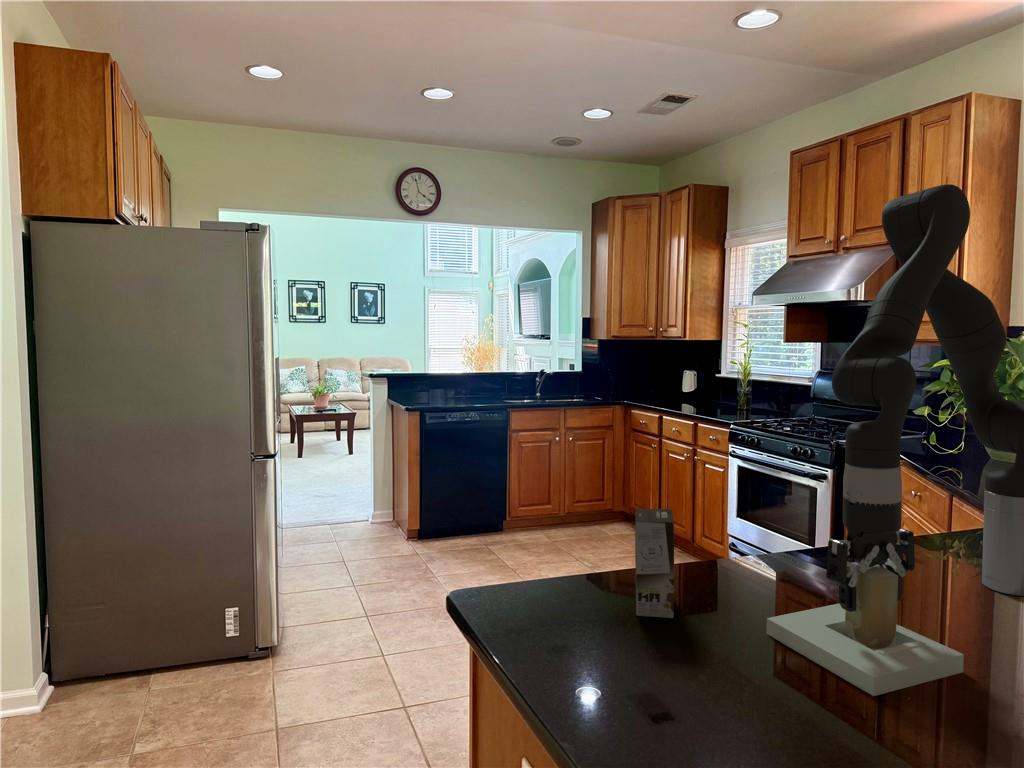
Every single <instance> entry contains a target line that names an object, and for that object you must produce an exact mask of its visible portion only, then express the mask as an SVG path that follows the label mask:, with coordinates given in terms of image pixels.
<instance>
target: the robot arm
mask: <svg viewBox="0 0 1024 768" xmlns="http://www.w3.org/2000/svg"><path fill="white" fill-rule="evenodd" d="M970 221H971V207H970V202H969V201H968V198H967V195H966V194H965V192H964V191H963V190H962V189H961V188H960V187H959V186H957V185H956V184H949V183H948V184H946V183H945V184H940V185H936V186H932V187H928V188H926V189H922V190H920V191H919V190H918V191H915V192H912V193H907V194H905V195H901V196H898V197H895V198H893V199H890V200H889V201H888V202H886V203H885V205H884V206H883V208H882V212H881V225H882V230H883V232H884V235H885V239H886V241H887V242H888V245H889V247H890V248H891V250H892V252H893V254H894V255H895V258H896V259H897V261H898V263H900V266H901V267H900V268H899V269H898V270H897V271H896V272H895V273H894V274H893V275H892V276H891V277H890V278H889V279H888V280H886V282H885V283H884V285H883V286H882V287H881V288H880V289H879V291H878V292H877V294H876V296H875V297H874V299H873V301H872V304H871V306H870V309H869V312H868V315H867V317H866V319H865V323H864V325H863V328H862V329H861V331H860V332H859V334H858V335H857V336H856V337H855V339H854V340H853V342H852V343H850V345H849V347H848V348H847V349H846V350H845V351H844V353H843V354H842V355H841V356H840V358H839V359H838V361H837V363H836V365H835V367H834V369H833V371H832V376H831V388H832V392H833V394H834V396H835V397H836V399H837V400H839V402H841V403H843V404H846V405H850V406H851V405H852V406H865V407H867V406H869V407H880V408H881V409H880V413H879V414H878V416H877V417H876V419H874V420H866V421H859V422H853V423H851V424H850V425H848V426H847V427H846V430H845V439H844V441H845V442H844V443H845V445H844V446H845V447H844V448H845V449H844V451H845V452H844V453H845V455H844V456H845V457H844V458H845V459H844V460H845V461H844V471H843V479H842V481H843V482H842V484H843V485H842V486H843V488H842V490H843V491H842V522H843V525H844V526H845V529H846V531H847V533H846V537H845V539H841V540H840V539H835V538H830V539H829V540H828V542H827V555H826V558H827V559H826V574H825V577H826V580H829V581H831V582H834V583H837V584H838V604H840V605H841V607H842V608H843V609H845V610H847V611H849V612H853V611H856V590H857V587H855V585H856V583H857V581H858V579H859V577H860V575H863V574H865V573H866V571H867V569H868V568H869V567H873V566H875V565H880V566H882V567H884V568H886V569H888V570H889V571H891V572H892V573H894V574H896V575H898V595H897V603H898V602H901V600H902V596H903V585H904V584H903V582H904V581H903V580H904V579H903V578H904V577H905V576H906V572H908V571H910V572H912V571H914V570H915V568H916V563H915V562H916V559H915V533H914V532H913V531H912V530H908V529H905V528H902V521H903V519H902V511H903V510H902V508H903V507H902V506H903V505H902V503H903V480H902V479H903V478H902V474H901V472H902V471H901V442H902V441H901V439H902V434H903V429H904V424H905V421H906V417H907V415H908V410H909V408H910V405H911V403H912V401H913V397H914V394H915V390H916V388H917V374H916V371H915V368H914V367H913V365H912V363H910V361H909V360H907V359H906V358H903V357H900V356H903V355H906V354H908V353H909V352H910V351H912V349H913V348H914V345H915V343H916V341H917V338H918V334H919V331H920V328H921V324H922V322H923V318H924V315H925V312H926V314H927V316H928V318H929V319H928V320H929V321H930V323H931V326H932V329H933V332H934V333H935V336H936V338H937V340H938V342H939V345H940V347H941V349H942V351H943V353H944V354H945V356H946V358H947V360H948V363H949V365H950V368H951V369H952V372H953V374H954V377H955V379H956V381H957V384H958V387H959V389H960V391H961V394H962V397H963V401H964V404H965V407H966V411H967V414H968V416H969V420H970V423H971V426H972V429H973V431H974V433H975V434H974V435H975V436H976V438H977V440H978V441H979V443H980V444H981V445H982V446H984V447H985V448H987V449H990V450H992V451H996V452H1002V453H1003V452H1004V453H1010V454H1015V459H1014V460H1015V461H1014V462H1013V463H1014V464H1013V466H1011V467H1010V468H1006V469H1001V470H993V471H991V472H988V473H987V474H986V475H985V476H984V491H983V494H984V497H983V532H982V536H983V537H982V564H981V566H982V567H981V569H982V570H981V572H982V574H981V576H982V577H981V583H982V584H983V586H985V587H987V588H988V589H991V590H992V591H996V592H999V593H1003V594H1007V595H1013V596H1020V597H1024V401H1023V400H1013V399H1007V398H1005V397H1004V396H1003V395H1002V393H1001V392H1000V390H999V387H998V385H997V381H996V373H997V372H996V371H997V369H998V367H999V364H1000V362H1001V359H1002V357H1003V354H1004V353H1005V349H1006V345H1007V334H1006V331H1005V330H1006V329H1005V328H1004V325H1003V323H1002V320H1001V319H1000V316H999V314H998V312H997V309H996V307H995V304H994V303H993V301H992V300H991V299H990V298H989V297H988V296H987V295H986V294H984V292H982V290H980V289H978V288H977V287H975V286H974V285H972V284H971V283H970V282H968V281H966V280H964V279H963V278H961V277H960V276H958V275H956V274H955V273H953V272H952V271H951V270H949V269H948V266H949V265H950V263H951V262H952V261H953V258H954V257H955V254H956V253H957V251H958V249H959V247H960V245H961V244H962V242H963V240H964V239H965V237H966V234H967V233H968V229H969V226H970ZM904 555H905V559H904ZM853 561H854V562H856V563H858V565H855V564H853V563H851V562H853ZM836 568H837V569H836ZM836 570H837V572H836ZM850 570H852V573H851V575H850V576H849V577H848V576H847V575H848V573H849V571H850Z"/></svg>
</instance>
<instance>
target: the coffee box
mask: <svg viewBox="0 0 1024 768" xmlns="http://www.w3.org/2000/svg"><path fill="white" fill-rule="evenodd" d="M634 518H635V521H634V523H635V524H634V527H635V529H634V530H635V531H634V532H635V533H634V539H635V541H634V542H635V543H634V544H635V545H634V546H635V547H634V550H635V551H634V555H635V558H634V559H635V563H634V564H635V610H636V611H635V615H636V616H637V617H651V618H664V619H665V618H667V619H673V618H674V616H675V615H674V614H675V528H674V527H675V521H674V520H675V519H674V514H673V509H671V508H647V509H646V508H636V509H635V517H634Z"/></svg>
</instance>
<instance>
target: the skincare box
mask: <svg viewBox="0 0 1024 768" xmlns="http://www.w3.org/2000/svg"><path fill="white" fill-rule="evenodd" d="M851 563H853V564H855V565H858V563H856V562H855V561H854V562H853V561H852V562H851ZM851 573H852V570H850V571H849V573H848V575H847V576H848V577H849V576H850V575H851ZM855 587H857V590H856V611H853V612H849V611H847V610H845V636H846V637H848V638H850V639H852V640H854V641H856V642H858V643H860V644H862V645H864V646H866V647H868V648H870V649H871V650H873V651H875V650H879V649H883V648H888V647H892V646H896V624H897V621H898V620H897V619H898V602H897V595H898V575H896V574H894V573H892V572H891V571H889V570H888V569H886V568H884V567H883V565H875V566H873V567H869V568H868V569H867V571H866V573H865V574H863V575H860V577H859V579H858V581H857V583H856V585H855Z"/></svg>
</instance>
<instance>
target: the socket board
mask: <svg viewBox="0 0 1024 768" xmlns="http://www.w3.org/2000/svg"><path fill="white" fill-rule="evenodd" d="M766 634H767V635H768V636H769V637H772V638H773V639H775V640H776V641H778V642H780V643H781V644H783V645H785V646H786V647H788V648H790V649H792V650H793V651H795V652H797V653H799V654H800V655H802V656H804V657H806V658H807V659H809V660H811V661H813V662H814V663H815V664H818V665H819V666H820V667H823V668H824V669H826V670H828V671H829V672H831V673H833V674H834V675H836V676H838V677H840V678H842V679H843V680H845V681H847V682H848V683H850V684H851V685H854V686H855V687H857V688H858V689H860V690H862V691H864V692H865V693H868V694H869V695H871V696H872V697H875V696H880V695H884V694H886V693H890V692H894V691H897V690H902V689H906V688H910V687H913V686H916V685H920V684H921V685H922V684H924V683H928V682H933V681H935V680H939V679H943V678H948V677H950V676H954V675H958V674H963V673H964V659H965V658H964V655H965V654H964V653H961V652H959V651H957V650H955V649H953V648H950V647H948V646H946V645H944V644H941V643H940V642H937V641H935V640H934V639H933V640H932V639H931V638H929V637H927V636H924V635H921V634H919V633H917V632H915V631H913V630H910V629H908V628H907V627H906V628H905V627H904V626H901V625H899V624H897V623H896V646H892V647H888V648H883V649H879V650H875V651H873V650H871V649H870V648H868V647H866V646H864V645H862V644H860V643H858V642H856V641H854V640H852V639H850V638H848V637H846V636H845V609H843V608H842V607H841V605H840V604H839V603H835V604H830V605H825V606H819V607H815V608H811V609H806V610H801V611H796V612H791V613H785V614H781V615H777V616H771V617H767V618H766Z"/></svg>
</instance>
